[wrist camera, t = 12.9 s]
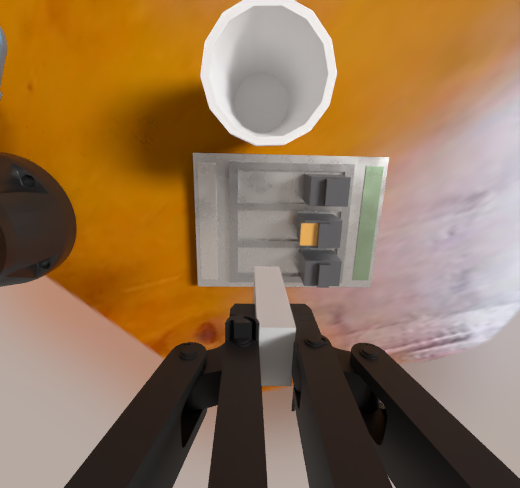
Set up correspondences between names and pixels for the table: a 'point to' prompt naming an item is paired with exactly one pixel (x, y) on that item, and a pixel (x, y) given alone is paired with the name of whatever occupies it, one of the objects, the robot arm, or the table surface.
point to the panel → (280, 215)
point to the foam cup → (268, 71)
